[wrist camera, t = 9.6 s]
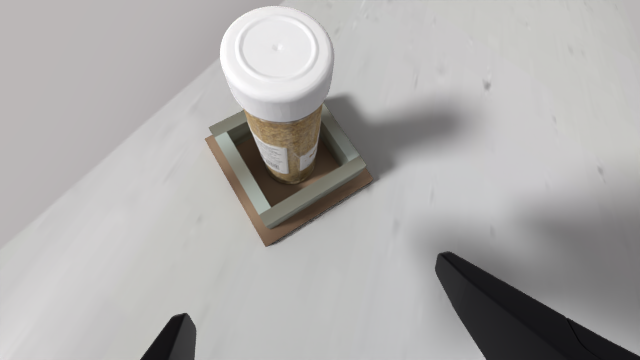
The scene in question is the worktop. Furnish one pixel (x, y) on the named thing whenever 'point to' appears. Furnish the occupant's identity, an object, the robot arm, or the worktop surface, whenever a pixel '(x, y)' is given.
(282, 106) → the sprinkles bottle
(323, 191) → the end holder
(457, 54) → the worktop surface
